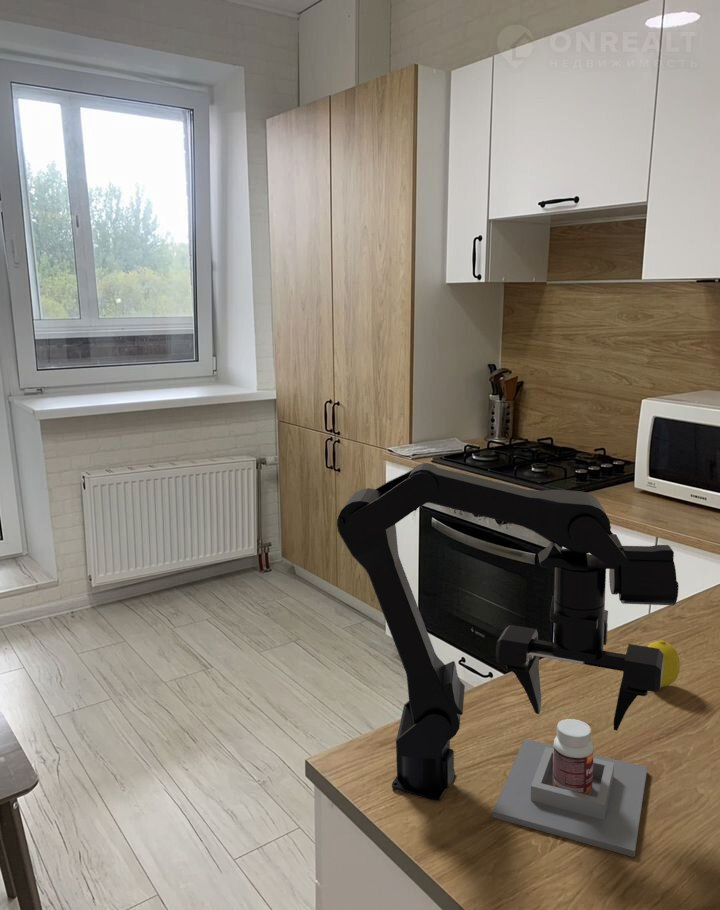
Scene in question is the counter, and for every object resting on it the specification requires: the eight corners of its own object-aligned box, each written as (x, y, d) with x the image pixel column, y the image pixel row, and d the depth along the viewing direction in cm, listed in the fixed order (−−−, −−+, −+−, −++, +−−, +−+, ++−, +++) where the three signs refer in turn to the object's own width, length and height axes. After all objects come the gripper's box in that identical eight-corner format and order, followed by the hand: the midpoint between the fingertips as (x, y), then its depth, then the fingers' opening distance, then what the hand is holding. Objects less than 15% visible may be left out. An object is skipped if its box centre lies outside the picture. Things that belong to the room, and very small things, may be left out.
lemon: (681, 683, 115) (684, 637, 113) (674, 700, 110) (677, 651, 108) (644, 675, 118) (646, 629, 116) (637, 690, 113) (639, 643, 111)
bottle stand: (492, 817, 86) (492, 796, 86) (524, 743, 101) (524, 725, 100) (634, 857, 80) (635, 835, 79) (646, 772, 94) (647, 753, 93)
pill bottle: (594, 802, 87) (596, 740, 85) (553, 798, 88) (555, 737, 86) (590, 778, 92) (592, 718, 90) (551, 774, 93) (552, 715, 91)
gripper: (669, 586, 88) (663, 702, 91) (517, 567, 96) (516, 674, 99) (663, 623, 78) (656, 752, 81) (494, 598, 86) (494, 717, 89)
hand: (576, 720), depth 88 cm, fingers open, 9 cm apart
